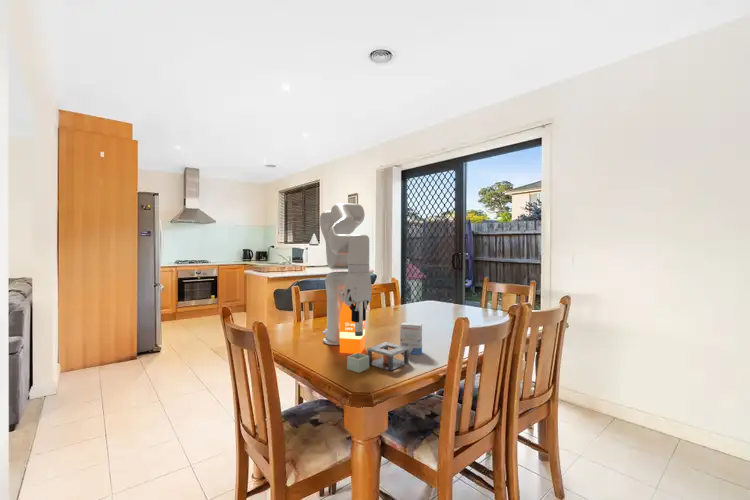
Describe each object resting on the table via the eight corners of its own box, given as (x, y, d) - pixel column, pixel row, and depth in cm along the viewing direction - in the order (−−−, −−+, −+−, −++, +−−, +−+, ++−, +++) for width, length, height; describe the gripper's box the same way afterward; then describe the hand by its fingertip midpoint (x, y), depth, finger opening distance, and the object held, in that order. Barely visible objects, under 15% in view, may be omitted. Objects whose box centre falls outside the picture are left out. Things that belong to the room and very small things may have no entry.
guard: (367, 364, 131) (367, 348, 131) (385, 356, 140) (385, 341, 140) (390, 371, 124) (391, 354, 124) (408, 363, 133) (408, 347, 133)
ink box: (422, 351, 147) (422, 323, 147) (420, 355, 142) (420, 325, 142) (402, 349, 149) (402, 321, 149) (399, 353, 144) (400, 324, 144)
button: (381, 362, 132) (381, 354, 132) (387, 360, 134) (387, 352, 134) (388, 364, 129) (388, 356, 129) (394, 362, 132) (394, 354, 132)
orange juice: (360, 354, 143) (360, 304, 142) (339, 352, 145) (339, 303, 144) (364, 348, 151) (365, 301, 150) (344, 347, 152) (345, 300, 152)
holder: (347, 368, 126) (347, 356, 126) (357, 364, 131) (357, 352, 131) (358, 372, 123) (358, 359, 123) (369, 368, 127) (369, 355, 127)
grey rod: (353, 335, 126) (353, 290, 126) (358, 333, 128) (358, 289, 128) (359, 336, 124) (359, 291, 124) (364, 335, 126) (364, 290, 126)
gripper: (365, 267, 134) (365, 316, 135) (334, 270, 122) (334, 323, 122) (381, 268, 130) (381, 318, 130) (350, 271, 117) (350, 326, 117)
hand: (358, 320), depth 126 cm, fingers closed on grey rod, 2 cm apart
